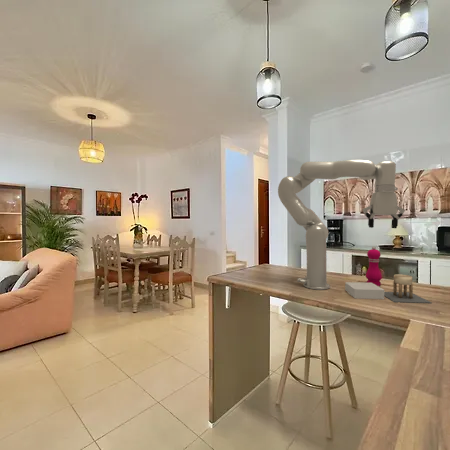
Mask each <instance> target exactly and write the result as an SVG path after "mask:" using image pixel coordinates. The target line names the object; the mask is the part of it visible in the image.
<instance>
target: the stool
mask: <svg viewBox="0 0 450 450" xmlns="http://www.w3.org/2000/svg"><path fill="white" fill-rule="evenodd" d="M397 284H398V285H397ZM397 286H398V288H397ZM413 286H414V284H413V276H412V275H409V274H402V273H400V274H398V273H397V274H394V275H393V286H392V287H393V291H392V292H393V295H397V292H399V298H402V292H404V295H405V296H407V292H409V298H410V299H413V294H414V293H413V292H414V287H413ZM408 287H409V288H408ZM408 289H409V290H408Z"/></svg>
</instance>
